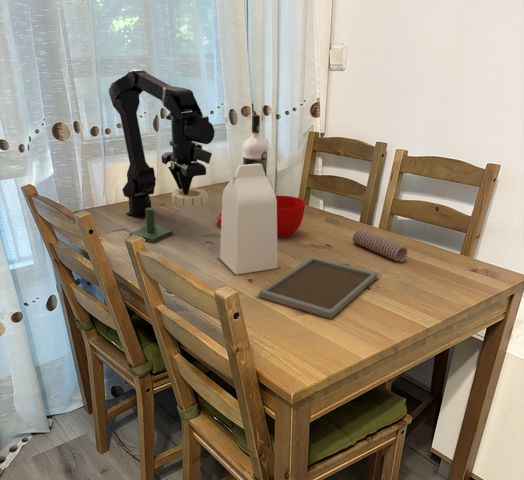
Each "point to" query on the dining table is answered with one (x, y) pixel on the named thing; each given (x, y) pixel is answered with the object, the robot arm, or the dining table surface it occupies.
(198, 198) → the ring
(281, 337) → the dining table surface
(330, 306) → the grey picture frame
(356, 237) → the coil
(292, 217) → the ceramic cup
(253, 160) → the vodka
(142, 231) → the peg stand
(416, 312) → the dining table surface
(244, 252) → the milk
